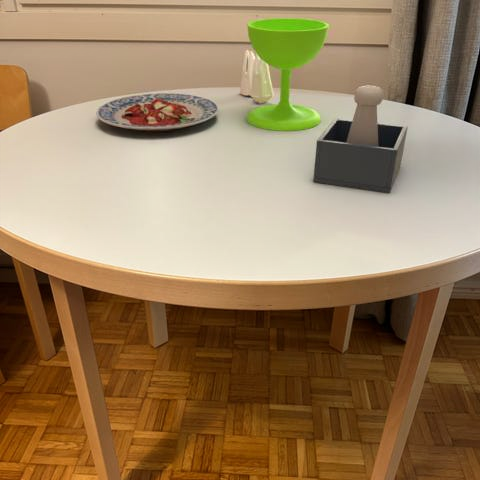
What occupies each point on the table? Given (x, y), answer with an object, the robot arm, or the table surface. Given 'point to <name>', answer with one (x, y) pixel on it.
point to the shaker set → (256, 78)
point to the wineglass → (286, 67)
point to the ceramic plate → (157, 111)
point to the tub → (359, 157)
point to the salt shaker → (365, 116)
